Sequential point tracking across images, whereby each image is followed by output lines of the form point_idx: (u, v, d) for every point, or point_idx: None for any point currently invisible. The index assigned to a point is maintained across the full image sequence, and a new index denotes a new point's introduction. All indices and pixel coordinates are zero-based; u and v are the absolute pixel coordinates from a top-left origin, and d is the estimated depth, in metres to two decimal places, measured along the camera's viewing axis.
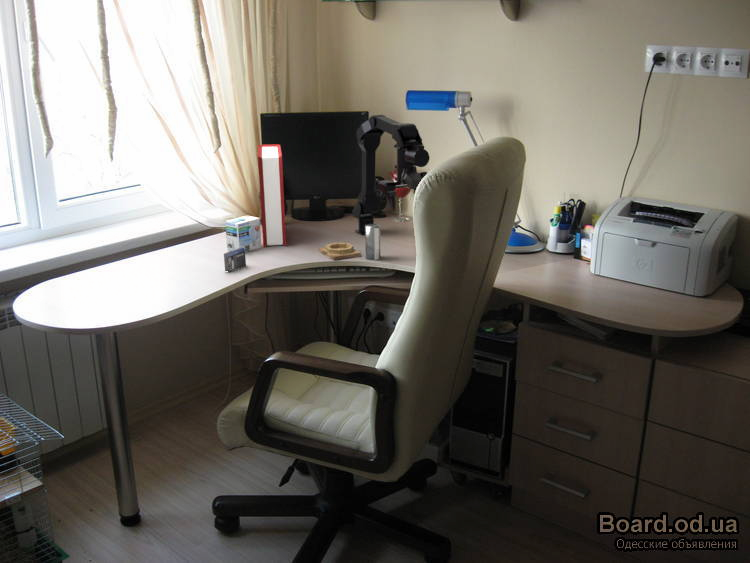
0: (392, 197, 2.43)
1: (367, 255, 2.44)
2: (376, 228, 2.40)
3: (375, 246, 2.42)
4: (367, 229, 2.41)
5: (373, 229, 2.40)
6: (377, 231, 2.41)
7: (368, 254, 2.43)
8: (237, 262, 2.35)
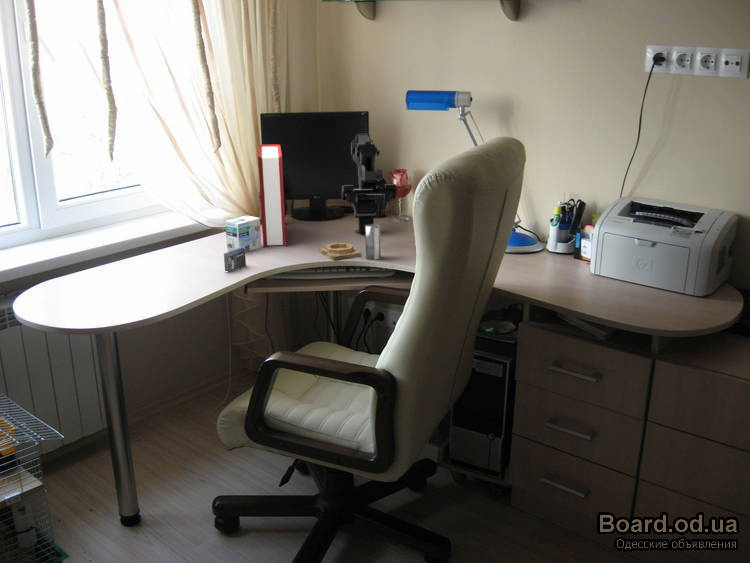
0: (353, 199, 2.49)
1: (367, 255, 2.44)
2: (376, 228, 2.40)
3: (375, 246, 2.42)
4: (367, 229, 2.41)
5: (373, 229, 2.40)
6: (377, 231, 2.41)
7: (368, 254, 2.43)
8: (237, 262, 2.35)
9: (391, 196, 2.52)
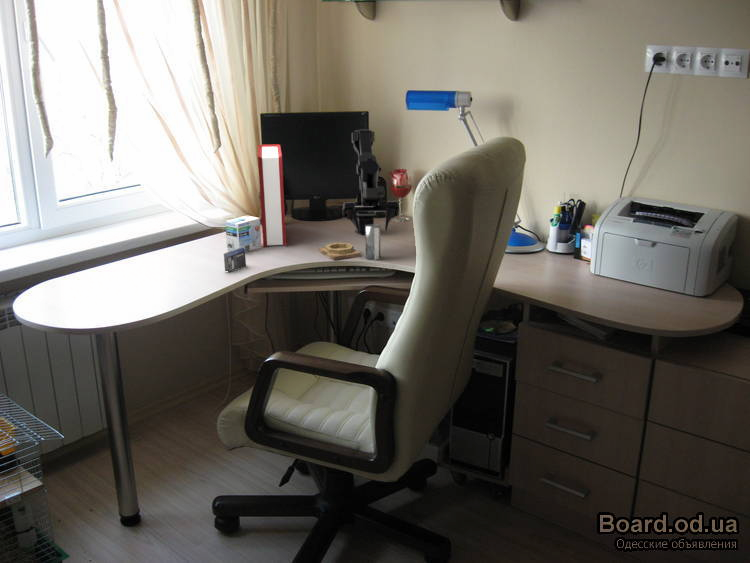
0: (354, 216, 2.45)
1: (367, 255, 2.44)
2: (376, 228, 2.40)
3: (375, 246, 2.42)
4: (367, 229, 2.41)
5: (373, 229, 2.40)
6: (377, 231, 2.41)
7: (368, 254, 2.43)
8: (237, 262, 2.35)
9: (393, 213, 2.48)
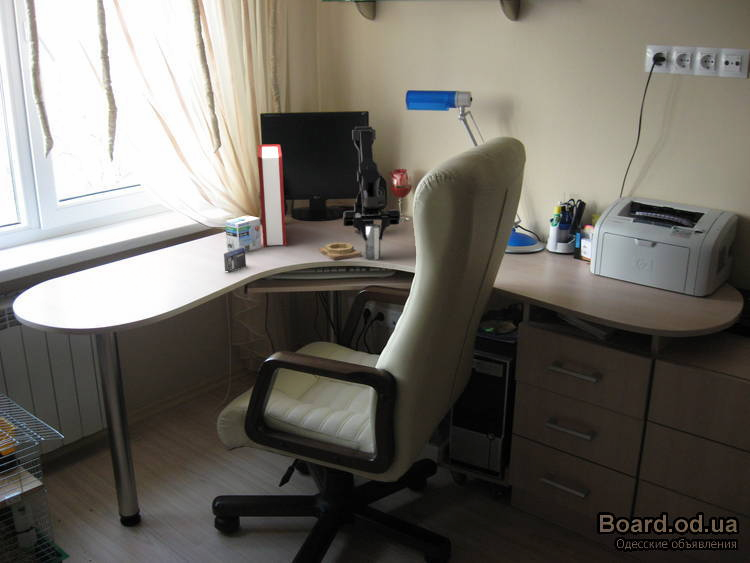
0: (360, 225, 2.43)
1: (367, 255, 2.44)
2: (376, 228, 2.40)
3: (375, 246, 2.42)
4: (367, 229, 2.41)
5: (373, 229, 2.40)
6: (377, 231, 2.41)
7: (368, 254, 2.43)
8: (237, 262, 2.35)
9: (388, 222, 2.46)
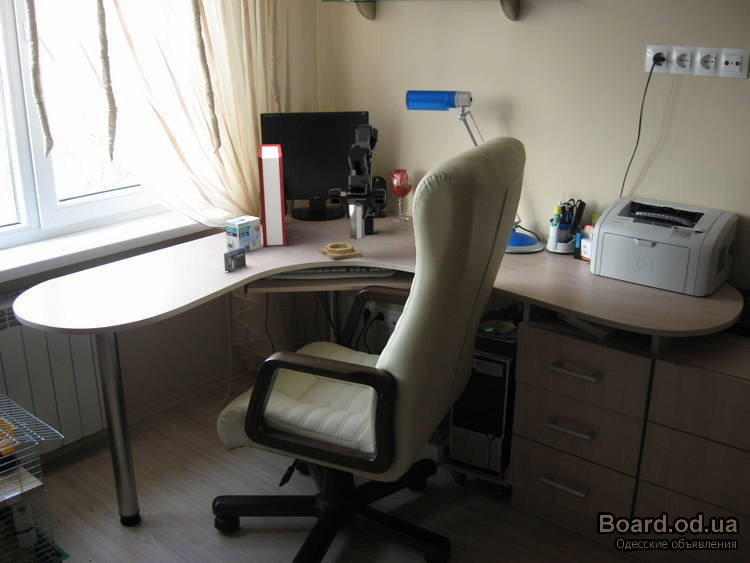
0: (344, 203, 2.43)
1: (350, 234, 2.44)
2: (358, 207, 2.40)
3: (357, 225, 2.42)
4: (350, 208, 2.41)
5: (355, 208, 2.40)
6: (359, 210, 2.40)
7: (351, 233, 2.43)
8: (237, 262, 2.35)
9: (373, 202, 2.44)
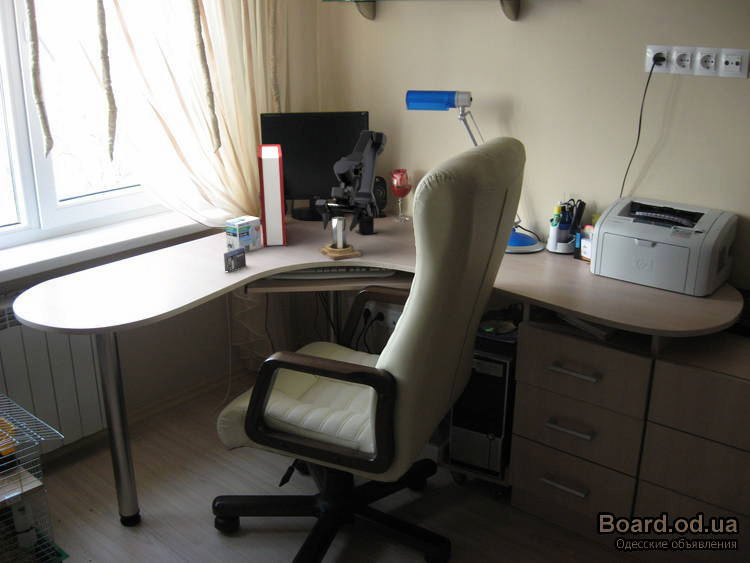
0: (323, 214, 2.49)
1: (332, 247, 2.49)
2: (339, 221, 2.45)
3: (338, 238, 2.46)
4: (331, 221, 2.46)
5: (336, 222, 2.45)
6: (340, 224, 2.45)
7: (332, 246, 2.49)
8: (237, 262, 2.35)
9: (362, 214, 2.47)
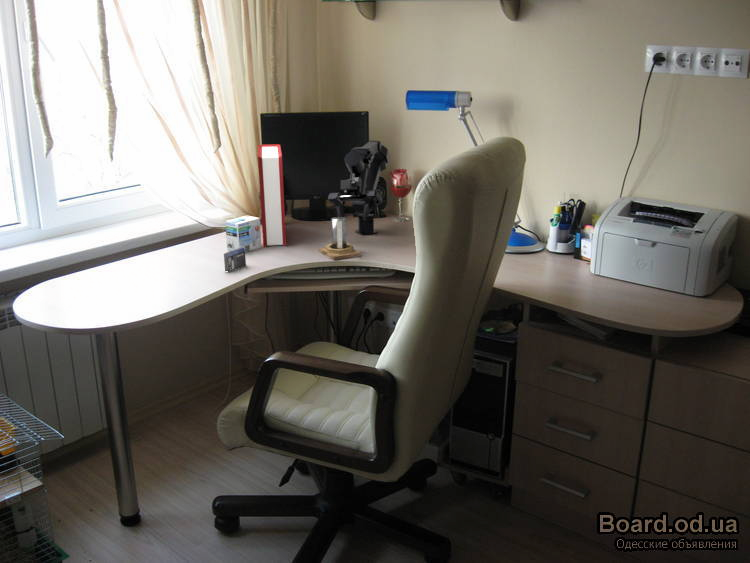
0: (337, 206, 2.58)
1: (332, 247, 2.49)
2: (339, 221, 2.45)
3: (338, 239, 2.46)
4: (331, 221, 2.46)
5: (336, 222, 2.45)
6: (340, 224, 2.45)
7: (332, 246, 2.49)
8: (237, 262, 2.35)
9: (373, 202, 2.54)
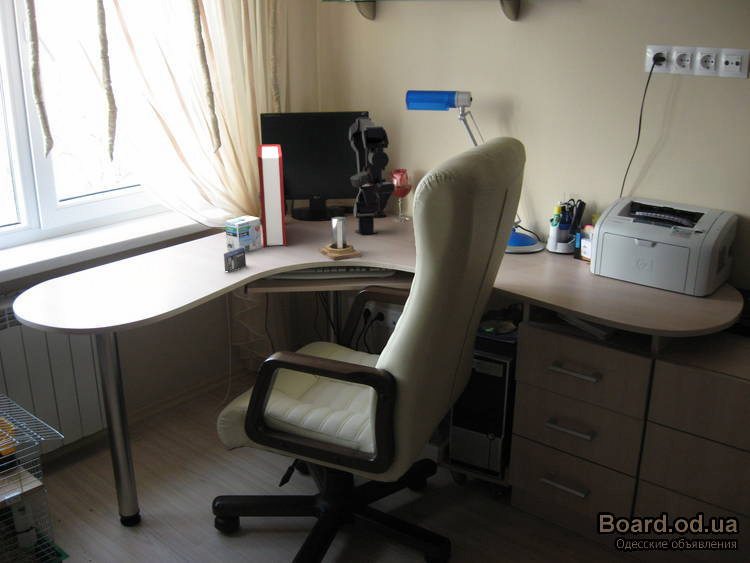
0: (362, 192, 2.60)
1: (332, 247, 2.49)
2: (339, 221, 2.45)
3: (338, 239, 2.46)
4: (331, 221, 2.46)
5: (336, 222, 2.45)
6: (340, 224, 2.45)
7: (332, 246, 2.49)
8: (237, 262, 2.35)
9: None
